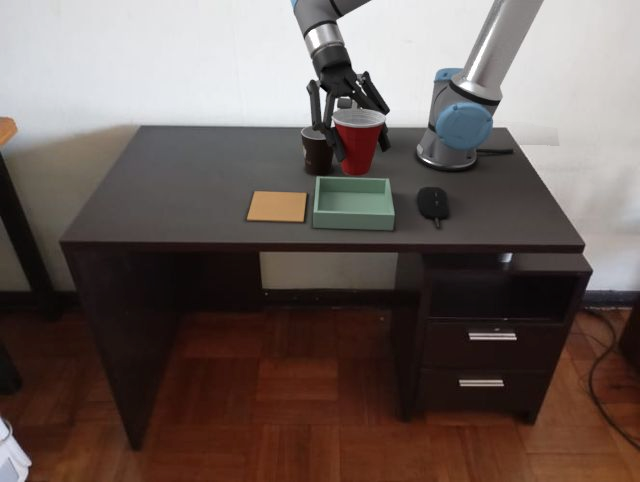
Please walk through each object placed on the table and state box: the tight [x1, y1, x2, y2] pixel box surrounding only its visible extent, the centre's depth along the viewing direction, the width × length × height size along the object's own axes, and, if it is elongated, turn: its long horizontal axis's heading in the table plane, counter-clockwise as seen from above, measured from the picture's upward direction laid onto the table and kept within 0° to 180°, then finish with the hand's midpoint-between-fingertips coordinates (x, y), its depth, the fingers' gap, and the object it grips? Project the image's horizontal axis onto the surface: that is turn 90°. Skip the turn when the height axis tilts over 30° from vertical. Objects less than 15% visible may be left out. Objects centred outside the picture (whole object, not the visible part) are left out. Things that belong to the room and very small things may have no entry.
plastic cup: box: [332, 108, 387, 177], centre depth 102 cm, size 11×11×12 cm
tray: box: [312, 175, 396, 231], centre depth 110 cm, size 17×16×4 cm
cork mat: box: [246, 190, 307, 224], centre depth 111 cm, size 12×12×1 cm
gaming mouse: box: [417, 186, 449, 229], centre depth 110 cm, size 6×15×4 cm, turn 177°
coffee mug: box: [300, 125, 335, 176], centre depth 125 cm, size 12×9×10 cm
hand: (364, 154), depth 101 cm, fingers closed on plastic cup, 10 cm apart
